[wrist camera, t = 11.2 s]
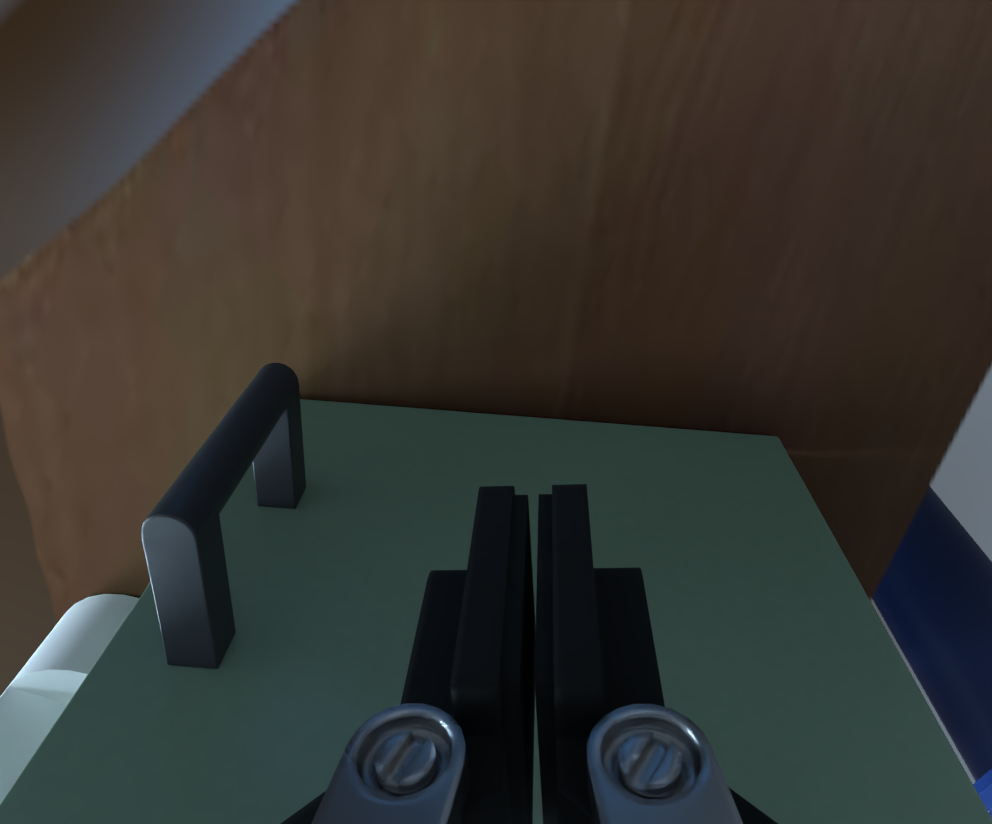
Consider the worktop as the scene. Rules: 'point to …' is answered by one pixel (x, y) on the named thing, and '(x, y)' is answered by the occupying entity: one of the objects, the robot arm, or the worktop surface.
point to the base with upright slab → (54, 678)
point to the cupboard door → (445, 546)
